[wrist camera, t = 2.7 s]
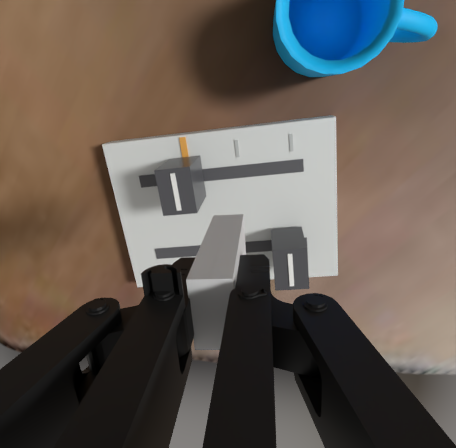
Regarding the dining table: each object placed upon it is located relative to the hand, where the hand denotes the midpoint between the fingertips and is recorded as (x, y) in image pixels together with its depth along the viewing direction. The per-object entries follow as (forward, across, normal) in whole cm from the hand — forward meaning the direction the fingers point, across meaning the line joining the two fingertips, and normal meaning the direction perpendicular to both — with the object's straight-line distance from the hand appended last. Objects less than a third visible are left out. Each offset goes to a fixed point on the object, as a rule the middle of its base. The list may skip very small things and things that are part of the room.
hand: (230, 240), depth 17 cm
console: (+19, -2, -4) cm, 20 cm away
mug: (+19, +9, +12) cm, 24 cm away
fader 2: (+17, +4, -8) cm, 19 cm away
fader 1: (+17, -6, 0) cm, 18 cm away
